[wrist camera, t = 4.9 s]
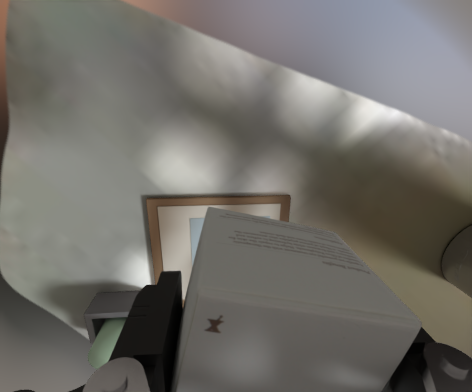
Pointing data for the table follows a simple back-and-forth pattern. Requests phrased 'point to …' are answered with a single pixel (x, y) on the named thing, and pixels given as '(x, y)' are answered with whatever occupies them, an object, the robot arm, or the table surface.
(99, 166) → the table surface
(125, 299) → the button housing
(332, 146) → the table surface
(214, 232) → the small box
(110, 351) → the button
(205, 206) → the picture frame
